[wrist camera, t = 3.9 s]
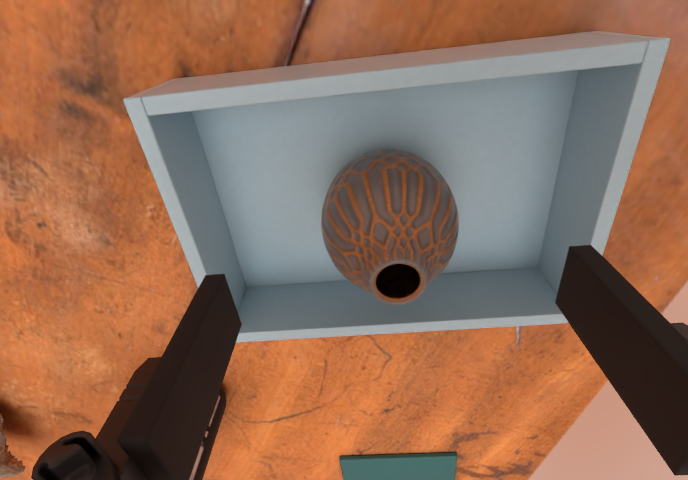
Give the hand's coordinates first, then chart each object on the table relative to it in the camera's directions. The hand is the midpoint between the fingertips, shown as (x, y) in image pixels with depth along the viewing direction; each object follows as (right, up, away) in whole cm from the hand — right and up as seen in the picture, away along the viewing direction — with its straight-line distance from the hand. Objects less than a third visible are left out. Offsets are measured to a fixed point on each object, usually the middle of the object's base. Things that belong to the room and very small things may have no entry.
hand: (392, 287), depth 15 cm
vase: (0, +5, +8) cm, 9 cm away
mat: (+4, -25, +27) cm, 37 cm away
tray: (0, +5, +8) cm, 10 cm away
